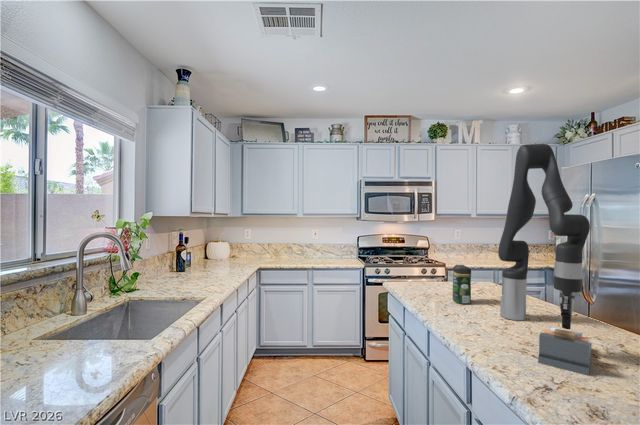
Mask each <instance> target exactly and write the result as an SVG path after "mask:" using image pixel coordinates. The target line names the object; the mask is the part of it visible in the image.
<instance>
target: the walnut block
mask: <svg viewBox="0 0 640 425" xmlns="http://www.w3.org/2000/svg"><path fill="white" fill-rule="evenodd" d="M561 329H562V328H558V329H555V331H554V335H556V336H561V337H566V338H570V339H575V332H576V331H574V332H571V331H572V330H568V331H566V330H567V329H563V330H561Z"/></svg>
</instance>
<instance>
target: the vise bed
mask: <svg viewBox="0 0 640 425" xmlns="http://www.w3.org/2000/svg"><path fill="white" fill-rule="evenodd" d="M538 336H539V339H538V340H539V342H538V344H539V345H538V358H537V363H538V364H542V365H545V366H546V365H547V366H550V367H553V368H558V369H562V370H565V371H570V372H574V373H576V374H577V373H578V374H582V375H585V376H589V374H590V365H591V358H592V357H591V356H592V343H591V342H590V341H588V342H585V341H580V340H575V339H570V338H566V337H561V336H556V335H551V334H546V333H544V332H540V333H539V335H538Z"/></svg>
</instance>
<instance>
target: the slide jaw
mask: <svg viewBox="0 0 640 425" xmlns="http://www.w3.org/2000/svg"><path fill="white" fill-rule="evenodd" d="M555 329H559V328H557V327H553V326H551V327H550V329H545V330H544V332H543V333H546V334H551V335H554V331H555ZM560 329H561V330H564V328H560ZM565 330H566V331H569V329H565ZM570 331H571V332H575V340H580V341H585V342H589V337H585V336H583V333H582V332H580V331H579V332H578V331H573V330H570Z"/></svg>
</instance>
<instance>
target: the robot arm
mask: <svg viewBox="0 0 640 425" xmlns="http://www.w3.org/2000/svg"><path fill="white" fill-rule="evenodd" d="M556 159H557V158H556V155H555V152H554V150H553V148H552V147H551V146H550V145H549V144H547V143H532V144H531V143H530V144H529V143H528V144H522V145H520V146H519V148H518V149H517V152H516V156H515V165H514V174H513V181H512V187H511V188H512V189H511V191H510V192H511V194H510V197H509V200H508V201H509V202H508V205H507V211H506V219H505V223H504V227H503V230H502V234H501V237H500V241H499V245H498V252H497V253H498V259H499V260H500V261H502V262H509V263H515V264H514V265H512V266H511V267H508V268H505V269H503V270H502V273H501V275H502V276H501V279H502V280H501V293H500V298H499V299H500V306H499V307H500V309H499V313H500V315H499V317H501V318H505V319H508V320H512V321H525V320H526V319H527V277H528V271H529V270H528V268H529V256H530V249H529V245H528V243H527V242H526V241H525V240H516V239H515V237H516V235H517V233H518V232H519V231H521V229H522V228H523V227H525V225H527V224H528V222H530V220H531V219H532V218H533V216H534V211H535V208H536V204H537V200H536V197H535V196H536V195H535V194H534V192H533V191H532V189H531V187H530V184H529V182H528V174H529V170H530V169H531V170H532V169H534V170H535V169H542V170H543V172H544V174H545V178H544V181H543V182H542V186H541V196H542V199H543V201H544V203H545V205H546V208H547V211H548V212H547V213H548V219H549V220H548V221H549V222H548V223H549V229H550V231H551V232H552V233H553V234H554V235H556V236H559V237H568V239H567V241H564V242H561V243H557V244H556V246H555V257H554V258H555V260H554V266H553V289H555V290H556V291H561V293H560V295H559V297H558V301H559V310H560V316H561V318H562V319H561V329H563V330H570V329H571V328H572V327H571V326H572V325H571V324H572V323H571V322H572V316H573V312H574V308H575V300H576V296H575V295H573V293H575V294H576V293H581V292H582V291H583V250H584V246H585V245H586V241H587V239H588V236H589V234H590V229H591V225H590V224H591V223H590V221H589V219H588V218H587V216H585V215H584V214H568V212H570V211H571V210H572V209H573V202H572V199H571V198H570V195H569V194H568V192H567V189H566V187H565V185H564V183H563V182H562V178H561V174H560V171H559V167H558V163H557V160H556ZM566 213H567V214H566ZM514 239H515V240H514Z"/></svg>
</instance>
